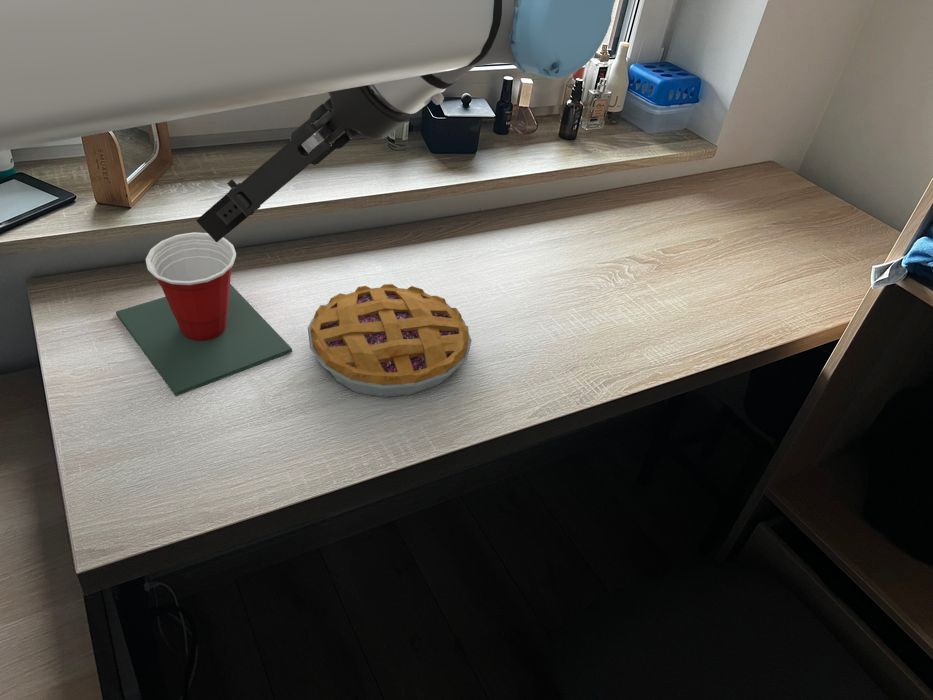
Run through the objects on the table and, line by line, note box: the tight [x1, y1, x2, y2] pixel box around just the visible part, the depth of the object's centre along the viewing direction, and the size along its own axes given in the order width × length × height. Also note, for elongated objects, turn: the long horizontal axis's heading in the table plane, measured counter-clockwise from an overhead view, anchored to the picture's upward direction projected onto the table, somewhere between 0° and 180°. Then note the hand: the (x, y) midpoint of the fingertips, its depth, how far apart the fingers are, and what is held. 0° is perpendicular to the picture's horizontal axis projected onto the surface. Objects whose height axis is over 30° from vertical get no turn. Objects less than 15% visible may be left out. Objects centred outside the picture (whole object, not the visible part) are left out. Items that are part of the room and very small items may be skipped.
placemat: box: [115, 283, 293, 397], centre depth 98 cm, size 16×20×1 cm
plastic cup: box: [145, 231, 237, 341], centre depth 94 cm, size 11×11×12 cm
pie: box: [307, 283, 473, 398], centre depth 98 cm, size 22×22×5 cm
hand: (243, 200), depth 74 cm, fingers open, 13 cm apart
